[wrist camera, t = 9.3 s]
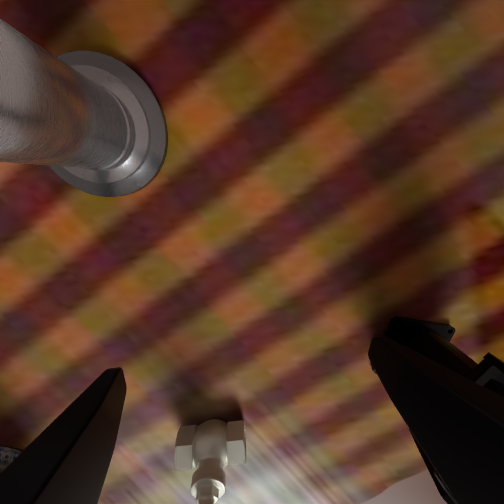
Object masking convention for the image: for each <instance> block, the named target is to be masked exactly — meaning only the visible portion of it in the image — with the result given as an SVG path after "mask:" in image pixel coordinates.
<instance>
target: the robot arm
mask: <svg viewBox="0 0 504 504" xmlns="http://www.w3.org/2000/svg"><path fill="white" fill-rule="evenodd" d="M397 322H398V323H397ZM396 323H397V324H396ZM454 333H455V328H454V327H452V326H451V325H447V324H441V323H434V322H428V321H421V320H415V319H408V318H402V317H395V318H393V319H392V320H391V323H390V325H389V327H388V330H387V332H386V334H385V336H375V337H373V338H372V341H371V344H370V348H369V351H368V356H369V359H370V361H371V363H372V370H373V371H374V373H376V374H377V375H378V376H379V378H380V380H381V382H382V384H383V386H384V388H385V390H386V392H387V393H388V395H389V397H390V399H391V400H392V402H393V404H394V405H395V407H396V408H397V410H398V412H399V413H400V415H401V416H402V418H403V419H404V421H405V423H406V424H407V426H408V427H409V430H410V432H411V434H412V436H413V439H414V441H415V443H416V445H417V447H418V450H419V452H420V454H421V456H422V458H423V460H424V462H425V464H426V466H427V468H428V470H429V472H430V474H431V476H432V478H433V481H434V482H435V485H436V487H437V489H438V491H439V493H440V495H441V496H442V497H443V499H444V500H445V501H446V502H447V504H504V362H503V361H502V360H500V359H498V358H497V357H495V356H494V355H492V354H490V353H489V352H488V353H487V354H486V355H485V356H484V357H483V358H484V359H483V360H482V361H481V362H480V363H479V364H477V363H476V362H475V361H473V360H472V359H471V358H469V357H468V356H467V355H466V354H464V353H463V352H462V351H460V350H459V349H458V348H457V347H455V346H454V345H453V344H451V343H450V340H451V338H452V336H453V335H454ZM125 396H126V382H125V378H124V373H123V370H122V368H120V367H118V368H110V369H107V370H105V371H104V372H103V373H102V374H101V375H100V376H99V377H98V378H97V379H96V380H95V381H94V382H93V383H92V384H91V385H90V386H89V387H88V388H87V389H86V390H85V391H84V392H83V393H82V394H81V395H80V396H79V397H78V398H77V399H76V400H75V401H74V402H72V403H71V404H70V405H69V406H68V407H67V408H66V409H65V410H64V411H63V412H62V413H61V414H60V415H59V416H58V417H57V418H56V419H55V420H54V421H53V422H52V423H51V424H50V425H49V426H48V427H47V428H46V429H45V430H44V431H43V432H42V433H41V434H40V435H39V436H38V437H37V438H36V439H35V440H34V441H33V442H32V443H31V444H30V445H29V446H27V447H26V448H25V449H24V450H23V451H22V452H21V453H20V454H19V455H18V456H17V457H16V458H15V459H14V460H13V461H12V462H11V463H10V464H9V465H8V466H7V467H6V468H5V469H4V470H3V471H2V472H1V473H0V504H97V503H98V500H99V497H100V493H101V490H102V487H103V484H104V481H105V477H106V474H107V471H108V468H109V465H110V461H111V458H112V455H113V451H114V448H115V443H116V439H117V434H118V429H119V424H120V420H121V415H122V410H123V405H124V401H125Z"/></svg>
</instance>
